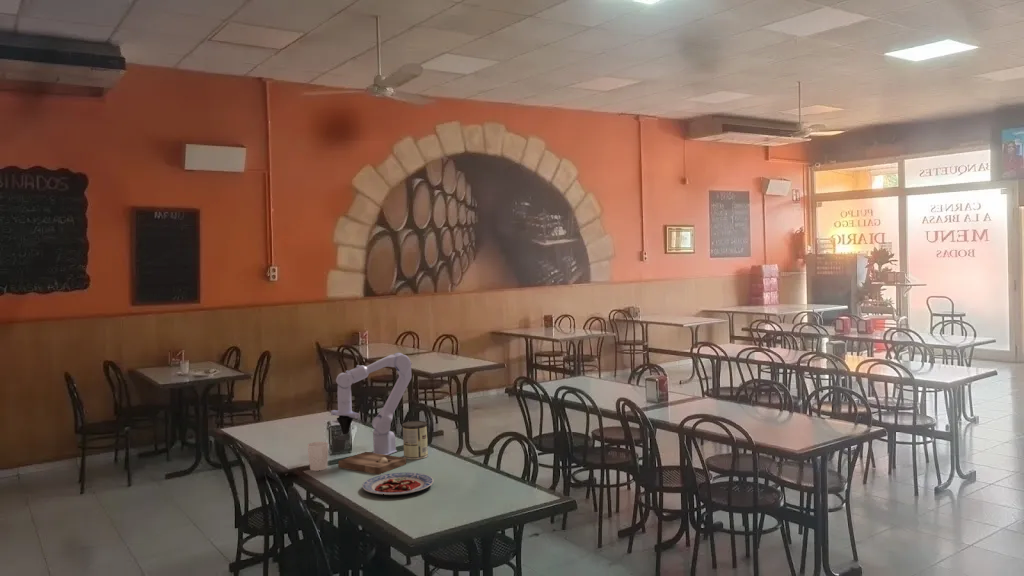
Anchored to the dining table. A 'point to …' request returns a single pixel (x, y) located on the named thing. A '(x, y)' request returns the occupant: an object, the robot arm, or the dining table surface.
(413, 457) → the coffee can
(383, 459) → the ball
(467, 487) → the dining table surface
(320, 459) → the white cup
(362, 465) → the board
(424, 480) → the ceramic plate
